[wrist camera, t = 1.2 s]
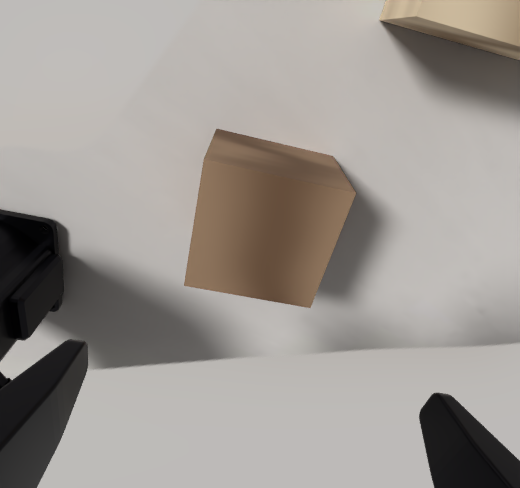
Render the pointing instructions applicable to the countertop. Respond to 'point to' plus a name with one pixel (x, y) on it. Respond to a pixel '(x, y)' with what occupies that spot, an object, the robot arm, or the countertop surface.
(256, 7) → the countertop surface
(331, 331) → the countertop surface
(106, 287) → the countertop surface
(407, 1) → the base block
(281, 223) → the walnut block
